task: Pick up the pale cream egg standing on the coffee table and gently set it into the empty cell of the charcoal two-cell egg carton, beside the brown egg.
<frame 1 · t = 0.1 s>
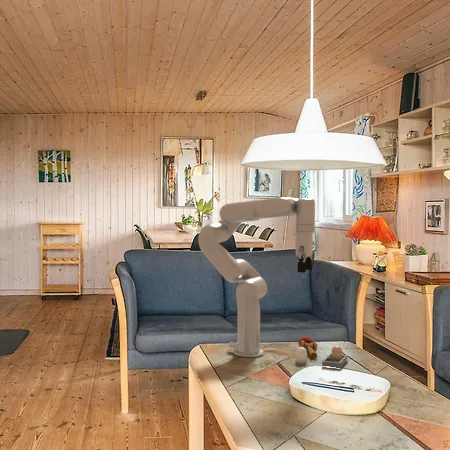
hand: (304, 271, 245), 37 cm above the table, tool pointing down, fingers open, 9 cm apart
egg: (301, 362, 244), on the table
carton: (335, 364, 242), on the table
kendama: (309, 354, 258), on the table
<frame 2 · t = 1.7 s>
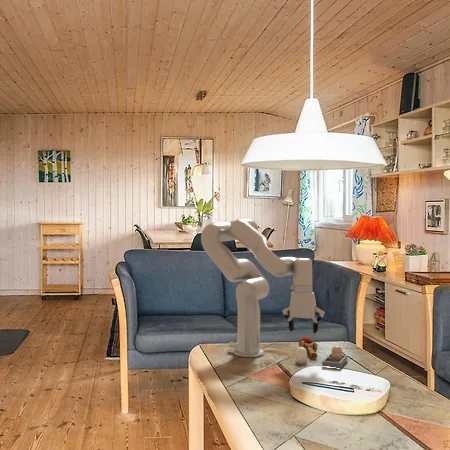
hand: (303, 331, 243), 13 cm above the table, tool pointing down, fingers open, 9 cm apart
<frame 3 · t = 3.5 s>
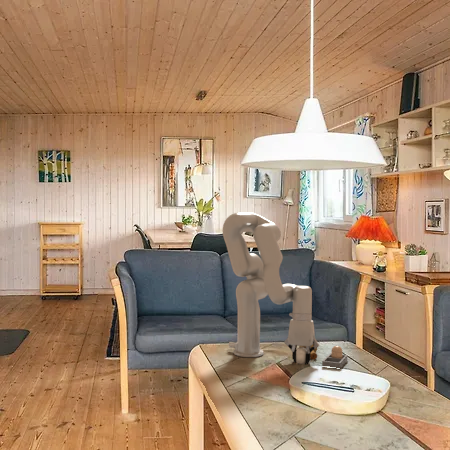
hand: (301, 361, 244), 0 cm above the table, tool pointing down, fingers closed on egg, 4 cm apart
egg: (301, 362, 244), on the table, touching gripper
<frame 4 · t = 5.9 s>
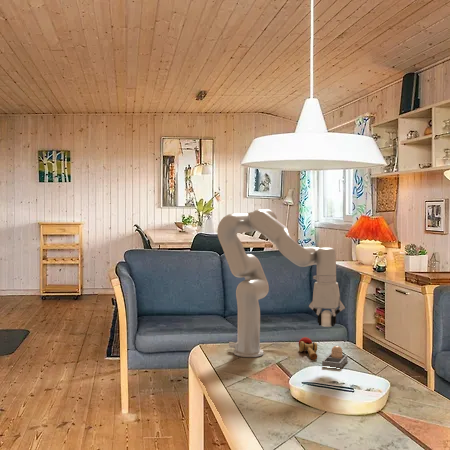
hand: (326, 324, 239), 16 cm above the table, tool pointing down, fingers closed on egg, 4 cm apart
egg: (326, 325, 239), point 16 cm above the table, touching gripper
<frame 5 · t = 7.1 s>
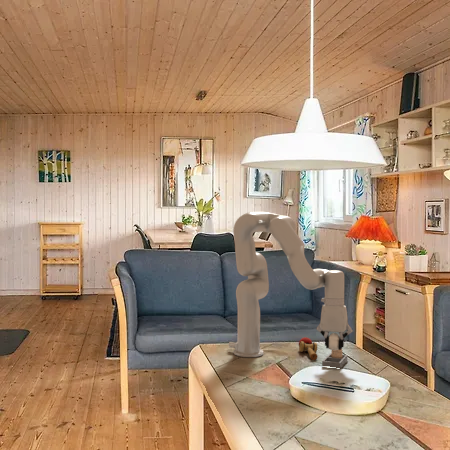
hand: (334, 347, 238), 7 cm above the table, tool pointing down, fingers closed on egg, 4 cm apart
egg: (334, 348, 238), point 7 cm above the table, touching gripper
when the fingers open (3 cm above the table, at t = 8.3 s): egg drops 2 cm, resting on carton.
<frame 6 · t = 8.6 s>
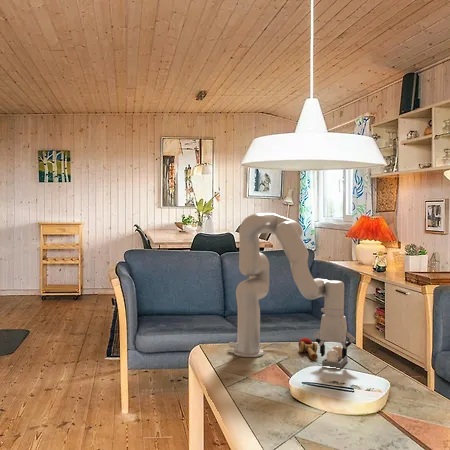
hand: (333, 356, 239), 4 cm above the table, tool pointing down, fingers open, 7 cm apart
egg: (332, 364, 239), point 1 cm above the table, touching carton
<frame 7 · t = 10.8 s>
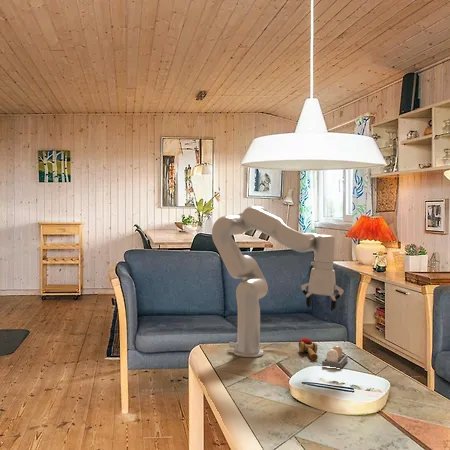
hand: (320, 308, 242), 22 cm above the table, tool pointing down, fingers open, 9 cm apart
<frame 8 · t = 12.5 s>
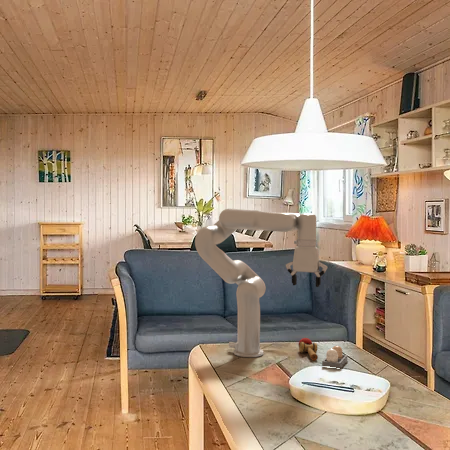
hand: (306, 285, 248), 30 cm above the table, tool pointing down, fingers open, 9 cm apart
at the end: egg 0.3 cm from the target spot on the carton, point 0.6 cm above the carton's base; egg tilted 3°; the gripper is holding nothing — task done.
